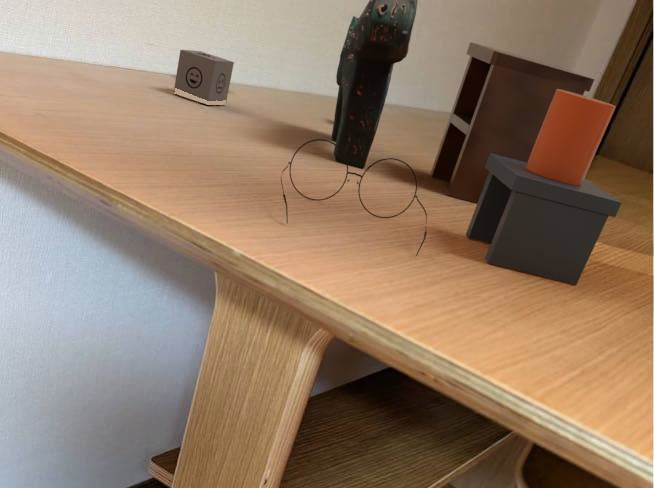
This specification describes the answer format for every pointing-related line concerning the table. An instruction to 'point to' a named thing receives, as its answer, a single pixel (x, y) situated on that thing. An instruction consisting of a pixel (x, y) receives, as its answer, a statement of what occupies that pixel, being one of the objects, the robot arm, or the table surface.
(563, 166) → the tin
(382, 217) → the eyeglasses
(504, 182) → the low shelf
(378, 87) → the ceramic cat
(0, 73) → the table surface
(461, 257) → the table surface
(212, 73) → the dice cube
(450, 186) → the tall shelf
